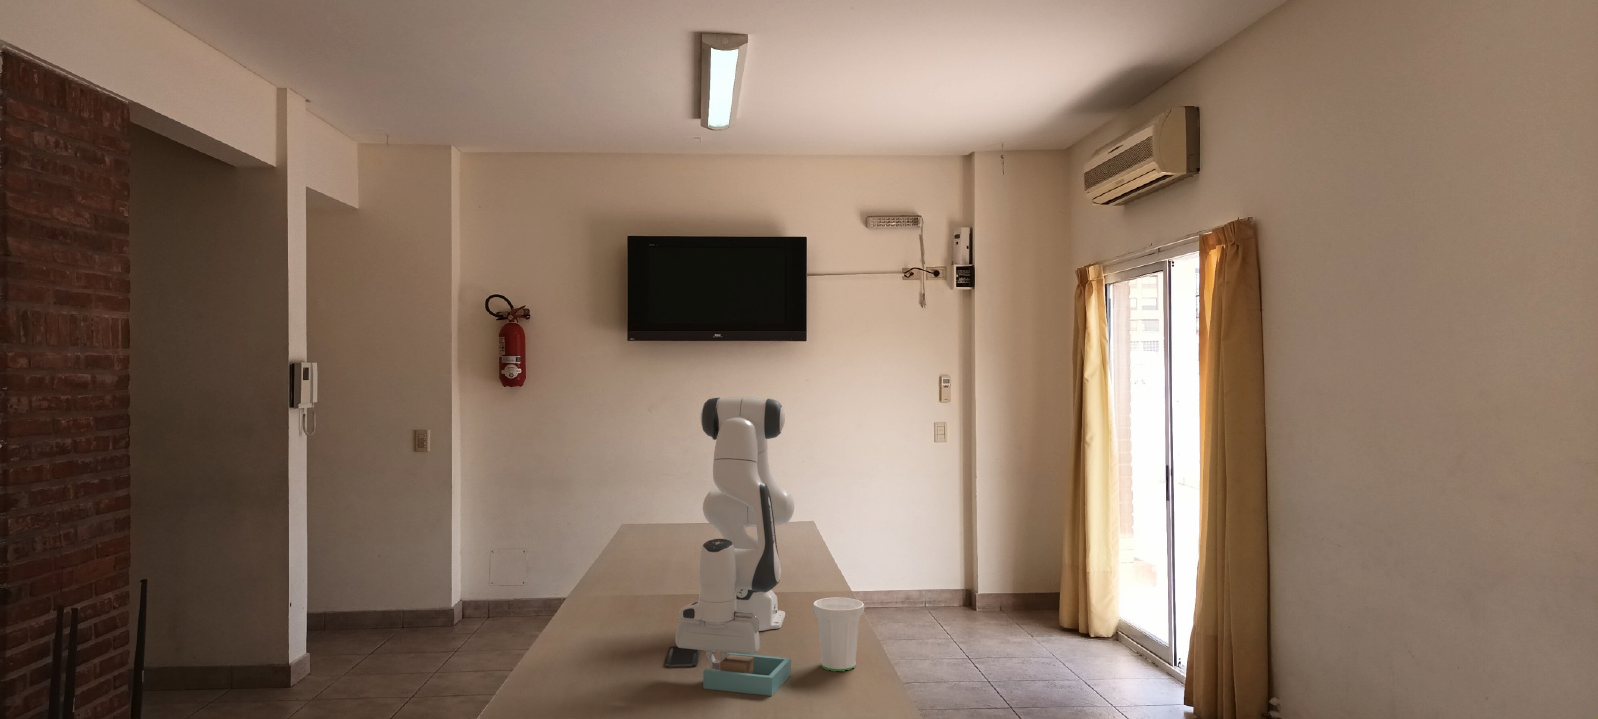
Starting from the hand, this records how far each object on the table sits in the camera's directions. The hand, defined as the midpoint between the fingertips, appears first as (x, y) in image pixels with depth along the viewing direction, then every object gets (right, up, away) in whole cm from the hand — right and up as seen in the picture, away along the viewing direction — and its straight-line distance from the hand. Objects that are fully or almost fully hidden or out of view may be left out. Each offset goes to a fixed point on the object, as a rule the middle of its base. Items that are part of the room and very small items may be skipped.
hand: (717, 669), depth 216 cm
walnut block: (+5, -2, -2) cm, 5 cm away
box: (+7, -2, -2) cm, 7 cm away
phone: (-10, -3, +16) cm, 19 cm away
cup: (+29, -3, +9) cm, 30 cm away
